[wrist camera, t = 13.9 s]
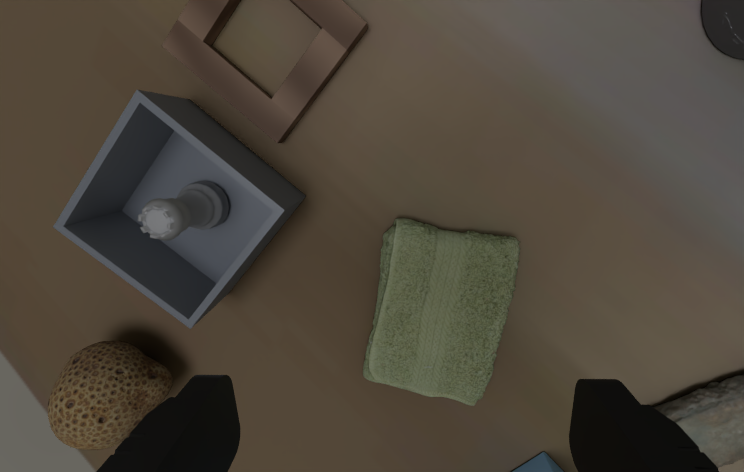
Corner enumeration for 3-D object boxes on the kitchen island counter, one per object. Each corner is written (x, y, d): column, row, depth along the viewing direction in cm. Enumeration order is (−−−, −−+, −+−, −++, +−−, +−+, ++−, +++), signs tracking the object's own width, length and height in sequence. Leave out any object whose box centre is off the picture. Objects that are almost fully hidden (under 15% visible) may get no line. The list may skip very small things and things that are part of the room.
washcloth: (360, 373, 40) (357, 393, 37) (386, 212, 35) (385, 219, 32) (482, 394, 40) (490, 416, 36) (525, 234, 35) (537, 243, 32)
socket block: (251, -79, 29) (244, -91, 28) (368, 28, 31) (366, 22, 29) (172, 49, 32) (161, 45, 31) (282, 142, 34) (277, 143, 32)
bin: (189, 99, 33) (136, 89, 26) (306, 196, 35) (284, 210, 28) (116, 210, 36) (53, 226, 30) (227, 294, 38) (190, 328, 31)
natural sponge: (86, 341, 40) (-10, 405, 31) (151, 307, 39) (70, 364, 29) (136, 406, 42) (60, 486, 32) (200, 376, 41) (139, 451, 31)
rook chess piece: (238, 218, 35) (194, 241, 27) (196, 233, 36) (142, 259, 28) (219, 173, 34) (167, 183, 26) (176, 188, 35) (113, 203, 27)
